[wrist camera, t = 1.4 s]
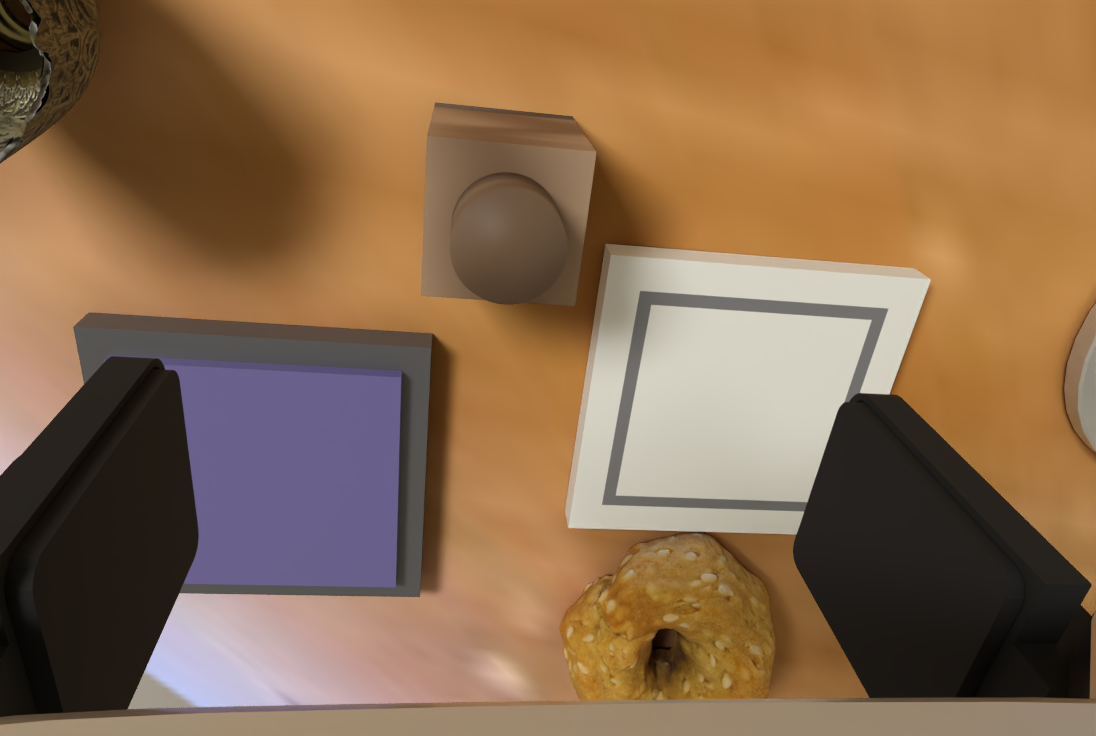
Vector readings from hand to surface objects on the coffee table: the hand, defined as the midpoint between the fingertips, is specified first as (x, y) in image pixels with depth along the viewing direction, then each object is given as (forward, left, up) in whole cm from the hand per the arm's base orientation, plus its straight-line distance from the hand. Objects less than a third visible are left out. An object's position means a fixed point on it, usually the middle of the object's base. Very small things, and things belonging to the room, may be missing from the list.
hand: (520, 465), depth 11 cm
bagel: (-10, +20, -17) cm, 28 cm away
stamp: (0, 0, -17) cm, 17 cm away
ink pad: (+8, +12, -17) cm, 22 cm away
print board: (-10, +8, -17) cm, 21 cm away
